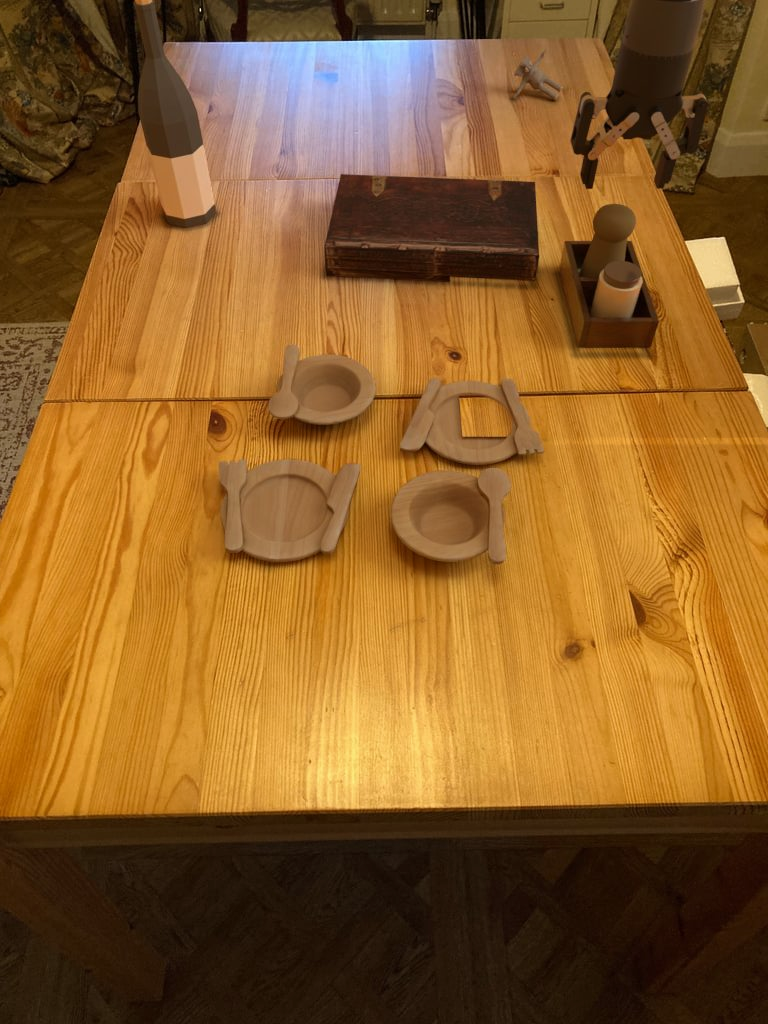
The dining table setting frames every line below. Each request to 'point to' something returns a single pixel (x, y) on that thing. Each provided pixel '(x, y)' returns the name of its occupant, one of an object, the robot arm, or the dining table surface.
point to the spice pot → (617, 291)
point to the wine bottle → (171, 131)
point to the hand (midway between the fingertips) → (623, 185)
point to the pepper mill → (608, 238)
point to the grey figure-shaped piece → (535, 77)
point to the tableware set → (325, 497)
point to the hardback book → (432, 229)
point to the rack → (581, 298)
